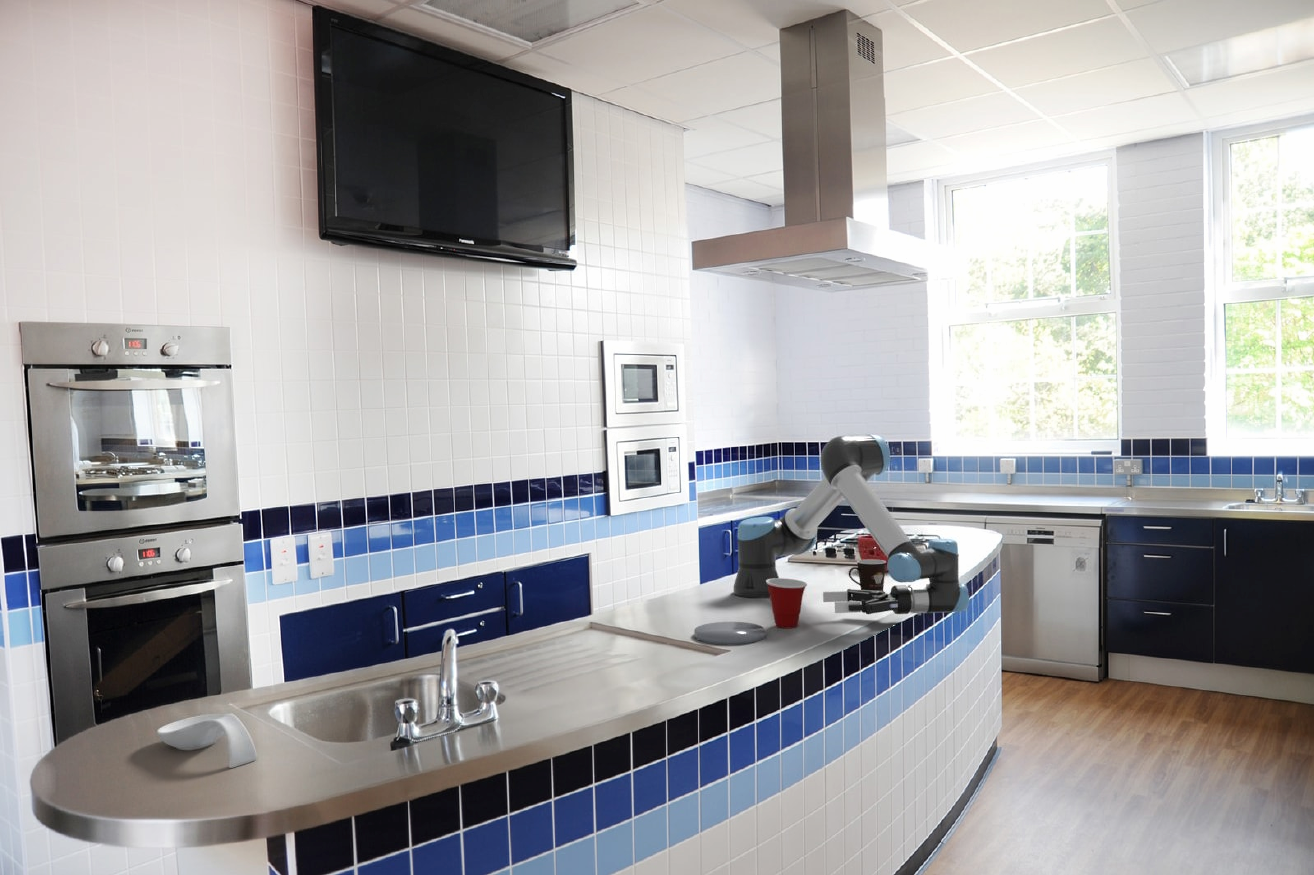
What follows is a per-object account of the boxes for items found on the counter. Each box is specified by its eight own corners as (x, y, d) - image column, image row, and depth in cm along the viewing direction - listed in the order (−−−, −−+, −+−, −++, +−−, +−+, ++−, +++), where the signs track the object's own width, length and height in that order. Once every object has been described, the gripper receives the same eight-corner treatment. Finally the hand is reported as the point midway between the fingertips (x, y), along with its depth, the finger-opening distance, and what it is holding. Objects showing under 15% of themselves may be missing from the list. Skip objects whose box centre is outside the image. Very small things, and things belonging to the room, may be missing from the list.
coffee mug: (884, 591, 279) (883, 559, 279) (888, 596, 271) (887, 563, 271) (846, 591, 281) (845, 559, 280) (849, 597, 272) (848, 564, 272)
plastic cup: (807, 631, 231) (806, 584, 231) (765, 630, 233) (764, 584, 233) (808, 621, 242) (807, 577, 241) (768, 620, 244) (767, 576, 243)
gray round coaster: (685, 631, 234) (684, 625, 234) (748, 624, 239) (748, 619, 239) (708, 647, 217) (708, 641, 217) (776, 640, 222) (776, 634, 222)
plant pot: (903, 571, 313) (903, 537, 313) (870, 574, 309) (869, 539, 309) (884, 565, 325) (883, 532, 325) (851, 568, 322) (851, 535, 322)
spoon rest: (145, 747, 160) (144, 708, 159) (211, 728, 169) (210, 691, 169) (210, 777, 145) (209, 733, 145) (279, 755, 155) (277, 713, 154)
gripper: (924, 624, 226) (840, 627, 225) (894, 603, 251) (819, 606, 250) (923, 594, 226) (840, 597, 225) (893, 577, 251) (818, 579, 250)
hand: (828, 602), depth 237 cm, fingers open, 13 cm apart
